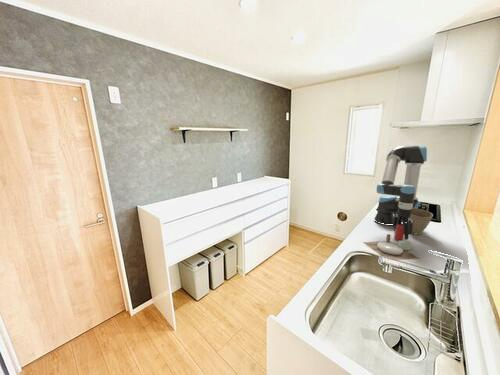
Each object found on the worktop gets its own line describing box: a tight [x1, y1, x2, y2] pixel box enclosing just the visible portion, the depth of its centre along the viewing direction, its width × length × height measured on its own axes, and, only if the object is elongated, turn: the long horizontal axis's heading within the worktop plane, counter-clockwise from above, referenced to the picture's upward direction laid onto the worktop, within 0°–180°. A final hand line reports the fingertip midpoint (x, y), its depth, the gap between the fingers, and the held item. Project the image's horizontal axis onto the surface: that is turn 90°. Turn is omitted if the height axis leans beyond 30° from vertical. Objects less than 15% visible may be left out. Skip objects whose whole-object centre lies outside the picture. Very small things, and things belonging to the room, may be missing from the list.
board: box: [362, 233, 421, 261], centre depth 123 cm, size 22×20×7 cm
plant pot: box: [410, 208, 434, 235], centre depth 151 cm, size 15×15×16 cm
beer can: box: [393, 223, 405, 242], centre depth 137 cm, size 7×7×12 cm
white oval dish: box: [377, 240, 413, 255], centre depth 124 cm, size 20×13×5 cm, turn 94°
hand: (400, 240), depth 138 cm, fingers closed on beer can, 7 cm apart
